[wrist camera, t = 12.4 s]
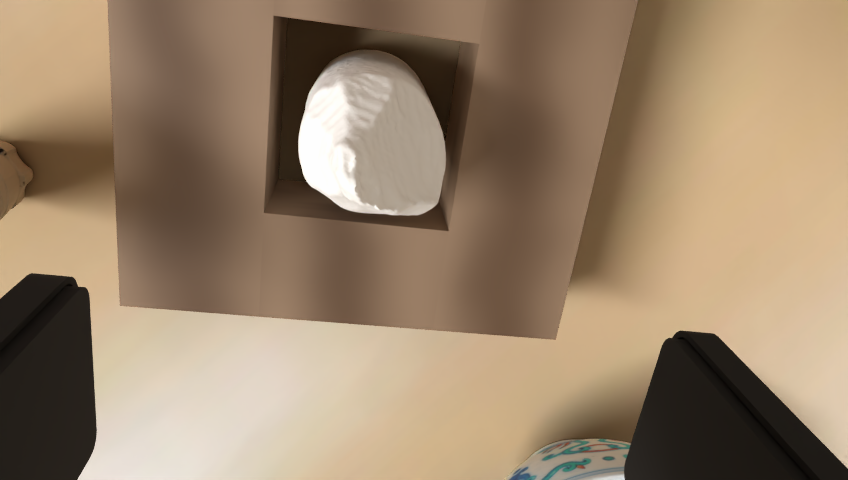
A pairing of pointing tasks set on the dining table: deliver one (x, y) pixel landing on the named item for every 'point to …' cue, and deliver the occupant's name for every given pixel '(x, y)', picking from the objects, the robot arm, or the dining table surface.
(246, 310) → the well block
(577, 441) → the chinaware
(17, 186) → the handle
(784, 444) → the robot arm
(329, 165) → the white rounded piece
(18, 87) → the dining table surface
